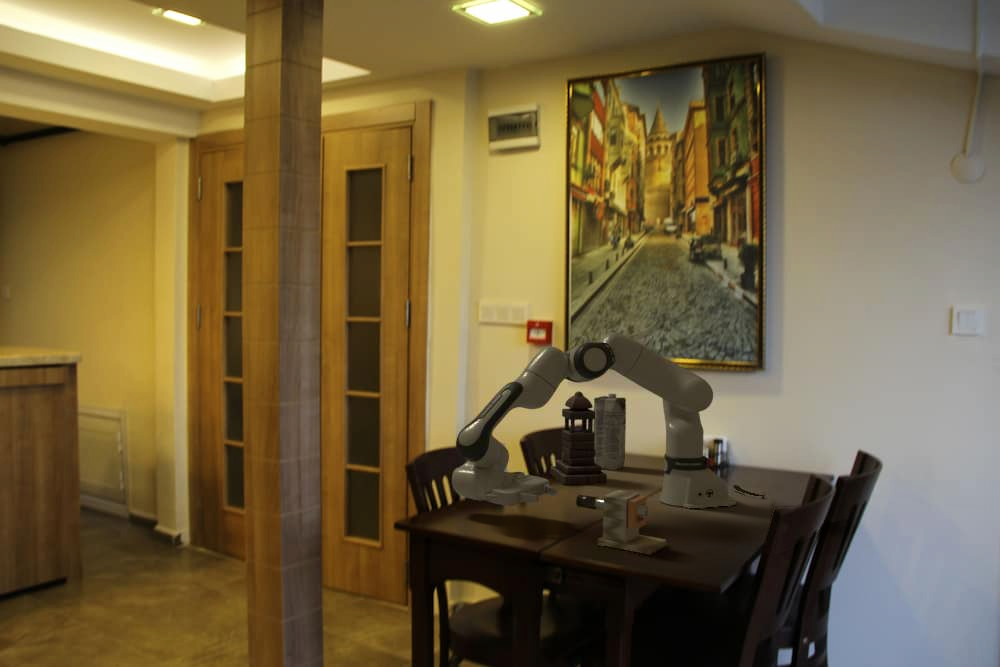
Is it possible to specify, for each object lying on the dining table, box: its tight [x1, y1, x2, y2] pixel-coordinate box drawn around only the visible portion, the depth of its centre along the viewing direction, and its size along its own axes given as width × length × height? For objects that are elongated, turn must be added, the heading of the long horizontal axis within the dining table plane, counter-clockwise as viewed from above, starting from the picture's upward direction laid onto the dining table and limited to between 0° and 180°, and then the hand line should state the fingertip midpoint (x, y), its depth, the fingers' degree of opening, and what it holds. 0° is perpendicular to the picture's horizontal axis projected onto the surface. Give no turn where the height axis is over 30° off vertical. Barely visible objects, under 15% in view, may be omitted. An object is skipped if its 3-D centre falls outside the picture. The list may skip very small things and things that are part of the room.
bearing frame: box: [597, 489, 667, 554], centre depth 202 cm, size 14×10×12 cm
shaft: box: [575, 494, 649, 519], centre depth 205 cm, size 18×3×3 cm, turn 56°
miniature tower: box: [549, 390, 608, 486], centre depth 276 cm, size 16×15×30 cm
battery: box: [593, 393, 627, 471], centre depth 296 cm, size 9×10×27 cm
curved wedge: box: [732, 484, 765, 497], centre depth 259 cm, size 8×14×2 cm, turn 179°
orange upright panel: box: [628, 495, 647, 531], centre depth 201 cm, size 2×7×7 cm, turn 146°
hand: (546, 495), depth 216 cm, fingers open, 8 cm apart
